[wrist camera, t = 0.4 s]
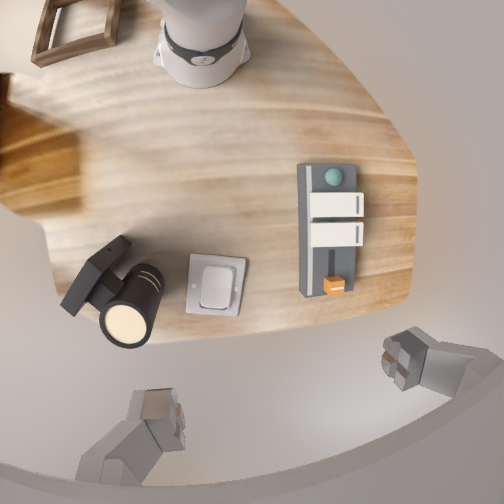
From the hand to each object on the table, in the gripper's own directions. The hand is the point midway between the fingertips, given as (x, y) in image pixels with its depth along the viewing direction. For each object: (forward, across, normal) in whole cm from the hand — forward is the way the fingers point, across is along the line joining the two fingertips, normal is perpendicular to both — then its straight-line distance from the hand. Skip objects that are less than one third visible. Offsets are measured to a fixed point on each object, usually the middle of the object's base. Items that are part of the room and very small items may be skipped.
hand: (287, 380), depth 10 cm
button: (+42, -22, -5) cm, 48 cm away
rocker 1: (+41, -22, 0) cm, 46 cm away
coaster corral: (+46, +25, -50) cm, 72 cm away
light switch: (+47, +2, +13) cm, 49 cm away
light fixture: (+47, +18, +8) cm, 51 cm away
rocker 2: (+41, -21, +5) cm, 46 cm away
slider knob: (+42, -20, +16) cm, 49 cm away
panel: (+46, -21, +5) cm, 51 cm away
